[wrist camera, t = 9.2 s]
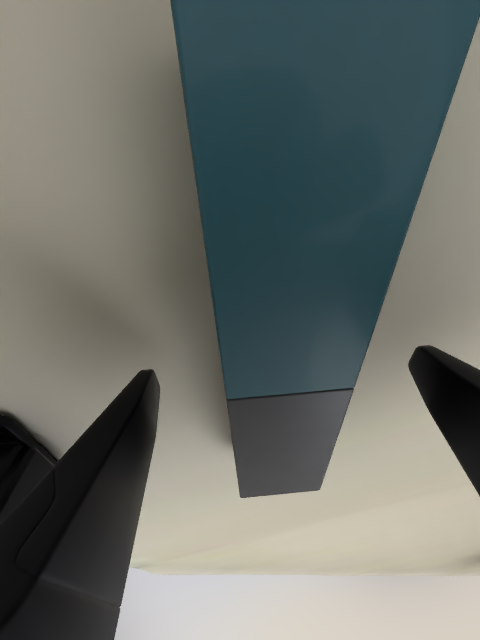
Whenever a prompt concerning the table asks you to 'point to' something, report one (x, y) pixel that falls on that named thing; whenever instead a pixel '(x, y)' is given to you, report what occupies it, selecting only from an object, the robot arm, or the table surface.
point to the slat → (308, 197)
